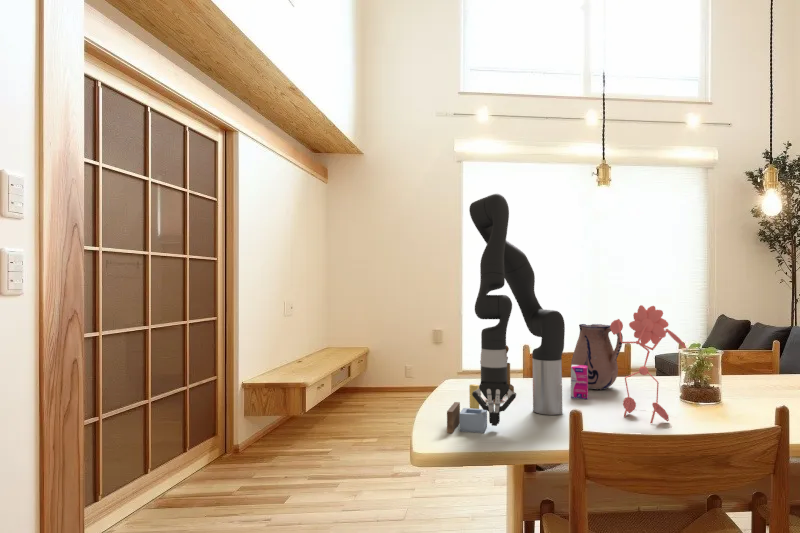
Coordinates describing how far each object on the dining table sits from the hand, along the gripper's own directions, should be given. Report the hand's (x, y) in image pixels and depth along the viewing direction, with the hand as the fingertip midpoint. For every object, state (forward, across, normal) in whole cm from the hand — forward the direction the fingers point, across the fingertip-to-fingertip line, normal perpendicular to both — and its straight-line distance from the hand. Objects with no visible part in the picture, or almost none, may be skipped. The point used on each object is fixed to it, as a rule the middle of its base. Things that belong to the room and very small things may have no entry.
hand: (494, 425), depth 151 cm
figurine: (+2, -46, -27) cm, 53 cm away
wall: (+2, +12, 0) cm, 12 cm away
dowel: (+2, +8, -13) cm, 15 cm away
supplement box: (+2, -26, -51) cm, 57 cm away
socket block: (+2, +6, 0) cm, 6 cm away
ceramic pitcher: (+2, -34, -70) cm, 78 cm away
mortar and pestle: (+2, +1, -53) cm, 53 cm away
